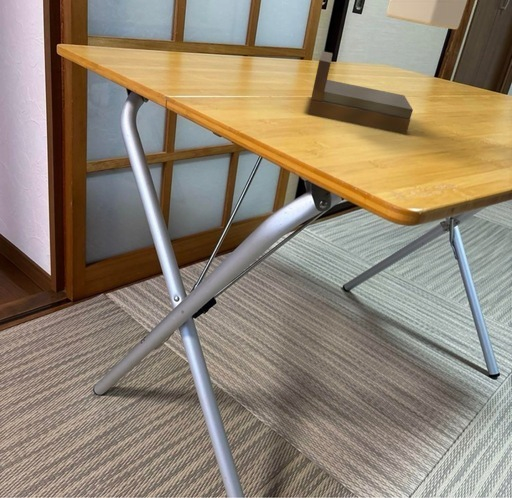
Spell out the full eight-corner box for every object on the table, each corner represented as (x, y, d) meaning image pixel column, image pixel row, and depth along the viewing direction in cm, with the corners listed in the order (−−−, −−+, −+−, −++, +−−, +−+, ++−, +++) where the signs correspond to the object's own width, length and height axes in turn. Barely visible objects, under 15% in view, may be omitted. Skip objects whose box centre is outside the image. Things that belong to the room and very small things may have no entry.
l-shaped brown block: (397, 116, 94) (411, 69, 90) (405, 135, 82) (422, 80, 78) (312, 99, 95) (322, 51, 91) (307, 114, 83) (319, 59, 79)
